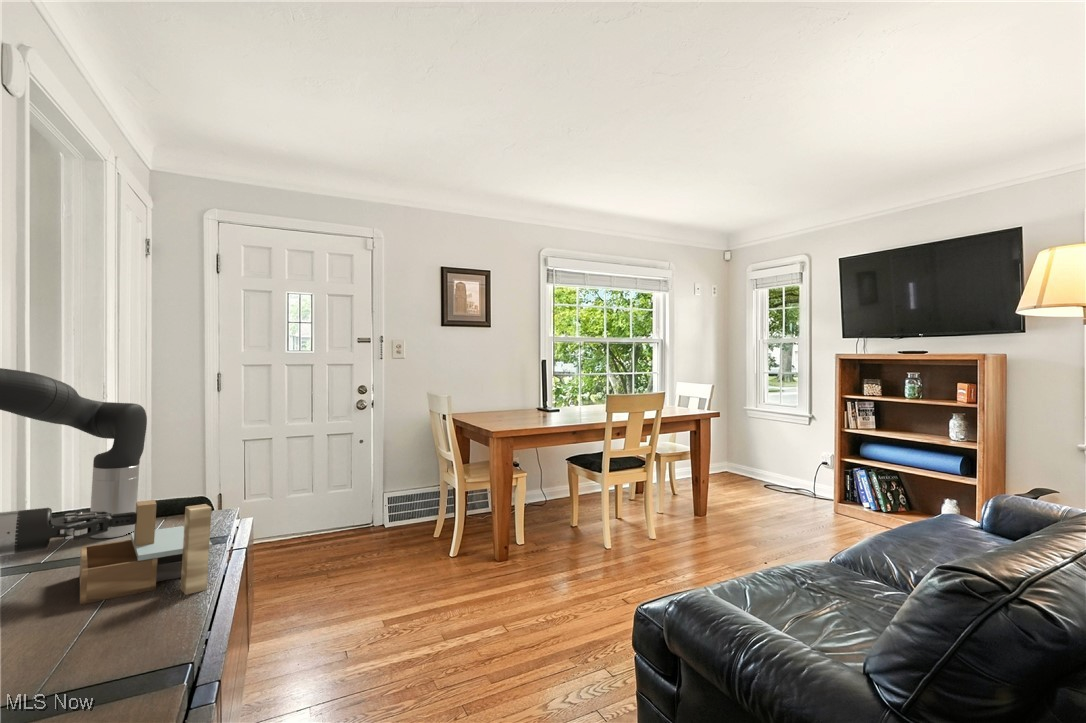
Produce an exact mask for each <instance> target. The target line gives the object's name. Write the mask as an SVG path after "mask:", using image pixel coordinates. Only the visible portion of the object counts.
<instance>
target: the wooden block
mask: <svg viewBox="0 0 1086 723" xmlns="http://www.w3.org/2000/svg"><path fill="white" fill-rule="evenodd" d="M211 520H212V507H211V506H210V505H208V504H207V503H204V504H203V503H202V504H196V505H188V506H185V509H184V523H183V524H184V525H183V526H184V539H183V556H182V573H181V577H180V591H181V592H182V593H184V595H186V596H187V595H191V594H194V593H195V594H196V593H199V592H203V591H207V589H208V571H209V558H210V557H209V556H210V554H209V553H210V549H209V541H210V542H211V540H210V539H211V538H210V537H211V523H212V522H211Z"/></svg>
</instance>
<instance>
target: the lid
mask: <svg viewBox="0 0 1086 723" xmlns="http://www.w3.org/2000/svg"><path fill="white" fill-rule="evenodd" d="M136 515H137V518H136V523H135V528H134V532H132V533H130V540H132V543H133V546H134V549H135V553H136V556H137V559H138V561H140V560H147V559H153V558H159V557H165V556H171V555H177V554H183V539H184V525H181V526H175V527H174V526H172V527H167V528H166V527H165V528H157V529H156V521H157V520H156V519H157V518H156V516H157V502H156V500H155V499H149V500H140V501H138V500H137V502H136ZM212 549H213V543H212V541H211V540H210V541H209V550H212Z"/></svg>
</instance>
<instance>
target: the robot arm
mask: <svg viewBox="0 0 1086 723" xmlns="http://www.w3.org/2000/svg"><path fill="white" fill-rule="evenodd" d="M0 411H4V412H8V413H11V414H14V415H17V416H20V417H23V418H24V417H25V418H29V419H32V420H36V421H40V422H45V423H50V424H54V425H55V424H56V425H63V426H68V427H70V428H74V429H75V430H79V431H81V432H84V433H87V435H88V434H89V435H92V436H93V437H97V438H99V439H101V438H102V439H110V440H111V439H112V440H113V443H112V447H111V448H110V449H109V450H107V451H105V452H100V453H98V454H96V455H94V457H93V464H92V477H91V478H92V482H91V493H90V494H91V495H90V496H91V497H90V511H89V510H88V511H87V510H86V511H85V510H84V511H83V510H77V511H74V512H68V513H65V514H64V515H63V516H59V517H52V515H53V514H52V512H53V511H52V508H50V507H40V508H32V509H31V508H30V509H23V510H21V509H20V510H12V511H11V510H10V511H1V512H0V556H1V557H2V556H10V555H15V554H23V553H24V554H25V553H30V552H37V551H44V550H47V549H48V548H50V542H51V541H50V540H51V539H53V538H54V539H59V538H62V539H63V540H71V539H72V540H74V541H79V540H82V539H86V538H92V539H111V538H118V537H122V536H126V534H127V535H129V534H128V533H130V534H131V532H132V533H134V532H133V531H134V528H135V523H136V518H137V515H136V502H138V498H139V496H138V495H139V494H138V493H139V478H140V477H139V475H140V462H141V457H142V455H143V453H144V448H145V441H146V433H147V425H148V416H147V413H146V410H145V408H144V407H143V406H142V405H140V404H138V403H131V402H130V403H128V402H109V401H107V402H106V401H99V400H94V399H89V398H86V397H82V396H81V395H79V393H78V392H77V390H76V389H75V388H74V387H72V386H71V385H69V384H67V383H65V382H63V381H61V380H57V379H55V378H52V377H49V376H46V375H42V374H39V373H35V372H30V371H25V370H24V371H23V370H17V369H11V368H2V367H0Z"/></svg>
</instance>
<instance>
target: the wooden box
mask: <svg viewBox="0 0 1086 723" xmlns="http://www.w3.org/2000/svg"><path fill="white" fill-rule="evenodd" d="M182 556H183V554H177V555H171V556H165V557H159V558H153V559H147V560H140V561H138V559H137V556H136V553H135V549H134V546H133V543H132V540H131V539H128V540H127V539H126V540H120V541H113V542H111V541H110V542H105V543H98V544H90V545H85V546H81V547H80V561H79V574H78V576H79V577H78V579H79V581H78V582H79V587H78V588H79V605H85V604H88V603H89V604H90V603H95V602H99V601H104V600H105V601H106V600H110V599H115V598H120V597H124V596H130V595H136V594H140V593H146V592H152V591H156V590H157V589H156V588H157V582H163V581H166V580H173V579H178V578H181V573H182Z"/></svg>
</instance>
